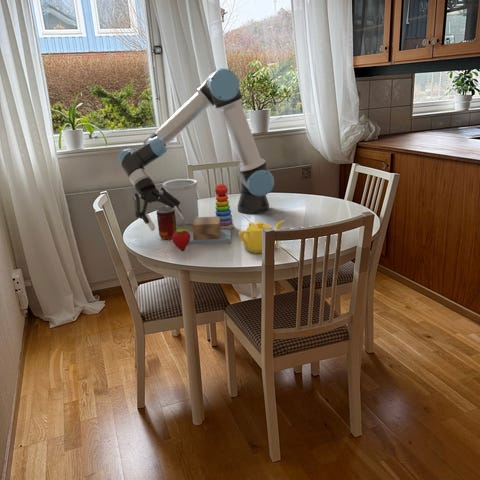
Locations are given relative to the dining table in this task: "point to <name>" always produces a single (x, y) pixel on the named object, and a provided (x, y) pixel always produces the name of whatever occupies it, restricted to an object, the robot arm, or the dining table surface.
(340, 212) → the dining table surface
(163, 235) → the jam jar
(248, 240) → the teapot
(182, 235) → the strawberry
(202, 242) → the base board
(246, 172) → the robot arm
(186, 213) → the utensil holder
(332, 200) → the dining table surface
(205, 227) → the block
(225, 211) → the stacking toy
